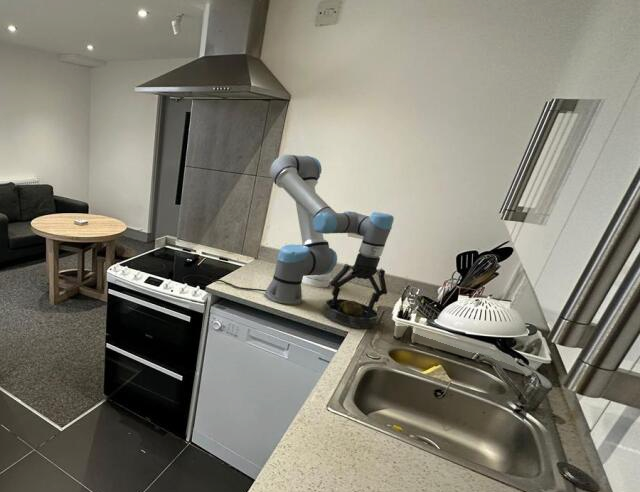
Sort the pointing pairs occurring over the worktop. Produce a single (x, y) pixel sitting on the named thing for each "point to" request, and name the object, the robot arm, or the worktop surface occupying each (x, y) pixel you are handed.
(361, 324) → the pan
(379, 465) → the worktop surface
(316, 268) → the robot arm
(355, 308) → the potato
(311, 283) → the honey pot
